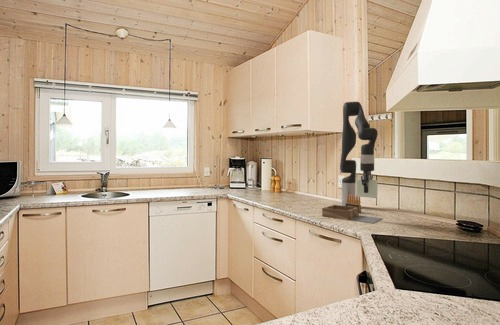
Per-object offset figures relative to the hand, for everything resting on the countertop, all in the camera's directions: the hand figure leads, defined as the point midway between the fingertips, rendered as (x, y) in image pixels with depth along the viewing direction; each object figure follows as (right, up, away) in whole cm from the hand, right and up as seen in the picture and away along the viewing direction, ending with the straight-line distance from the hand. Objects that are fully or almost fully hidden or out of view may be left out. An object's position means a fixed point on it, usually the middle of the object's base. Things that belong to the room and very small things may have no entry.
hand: (366, 192), depth 188 cm
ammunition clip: (0, -15, +24) cm, 28 cm away
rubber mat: (0, -16, +1) cm, 16 cm away
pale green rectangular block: (0, -3, 0) cm, 3 cm away
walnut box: (-12, -15, +11) cm, 22 cm away
